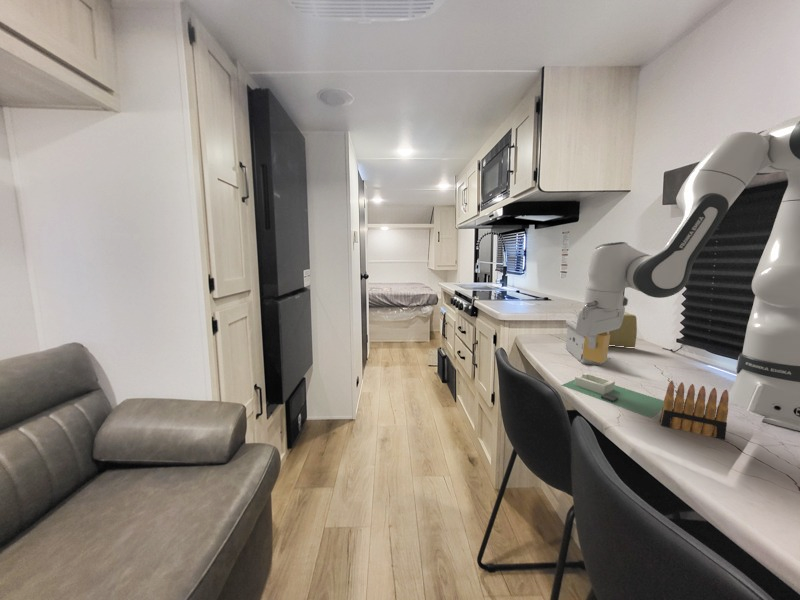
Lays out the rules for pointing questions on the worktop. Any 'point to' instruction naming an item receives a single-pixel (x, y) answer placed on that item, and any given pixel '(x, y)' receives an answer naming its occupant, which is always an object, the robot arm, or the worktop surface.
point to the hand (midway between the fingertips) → (596, 346)
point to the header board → (615, 394)
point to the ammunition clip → (695, 411)
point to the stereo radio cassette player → (576, 342)
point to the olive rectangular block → (625, 332)
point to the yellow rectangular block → (597, 349)
